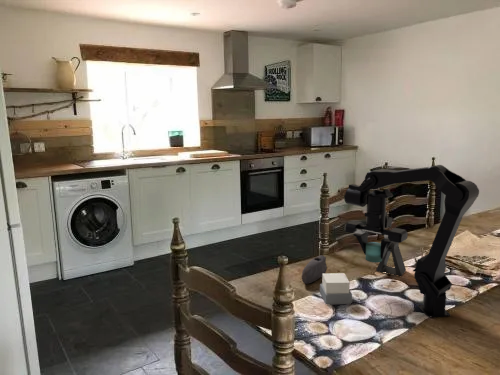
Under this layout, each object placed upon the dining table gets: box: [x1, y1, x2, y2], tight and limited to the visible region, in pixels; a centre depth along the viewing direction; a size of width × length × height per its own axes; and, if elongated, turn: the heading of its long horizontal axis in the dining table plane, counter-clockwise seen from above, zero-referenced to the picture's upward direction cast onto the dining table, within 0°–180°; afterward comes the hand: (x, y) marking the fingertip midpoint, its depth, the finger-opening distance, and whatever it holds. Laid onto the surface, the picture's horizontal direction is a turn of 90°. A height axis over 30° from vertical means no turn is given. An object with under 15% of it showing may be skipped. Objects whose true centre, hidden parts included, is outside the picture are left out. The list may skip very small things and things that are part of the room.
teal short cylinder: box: [364, 241, 382, 264], centre depth 128 cm, size 5×5×5 cm
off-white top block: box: [321, 272, 350, 294], centre depth 124 cm, size 7×7×4 cm
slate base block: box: [319, 283, 353, 305], centre depth 125 cm, size 8×8×4 cm
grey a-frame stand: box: [375, 242, 407, 277], centre depth 144 cm, size 9×6×12 cm, turn 54°
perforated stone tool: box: [301, 254, 328, 285], centre depth 138 cm, size 15×5×7 cm, turn 141°
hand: (373, 256), depth 128 cm, fingers closed on teal short cylinder, 5 cm apart
